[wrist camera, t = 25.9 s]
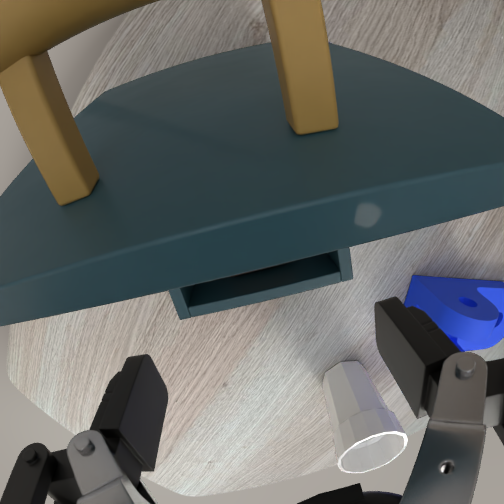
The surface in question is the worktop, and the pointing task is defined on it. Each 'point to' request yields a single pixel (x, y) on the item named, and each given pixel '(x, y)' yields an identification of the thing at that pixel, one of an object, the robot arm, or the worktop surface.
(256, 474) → the worktop surface
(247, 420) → the worktop surface
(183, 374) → the worktop surface
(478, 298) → the bracket
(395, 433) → the cup
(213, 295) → the box
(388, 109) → the lid
